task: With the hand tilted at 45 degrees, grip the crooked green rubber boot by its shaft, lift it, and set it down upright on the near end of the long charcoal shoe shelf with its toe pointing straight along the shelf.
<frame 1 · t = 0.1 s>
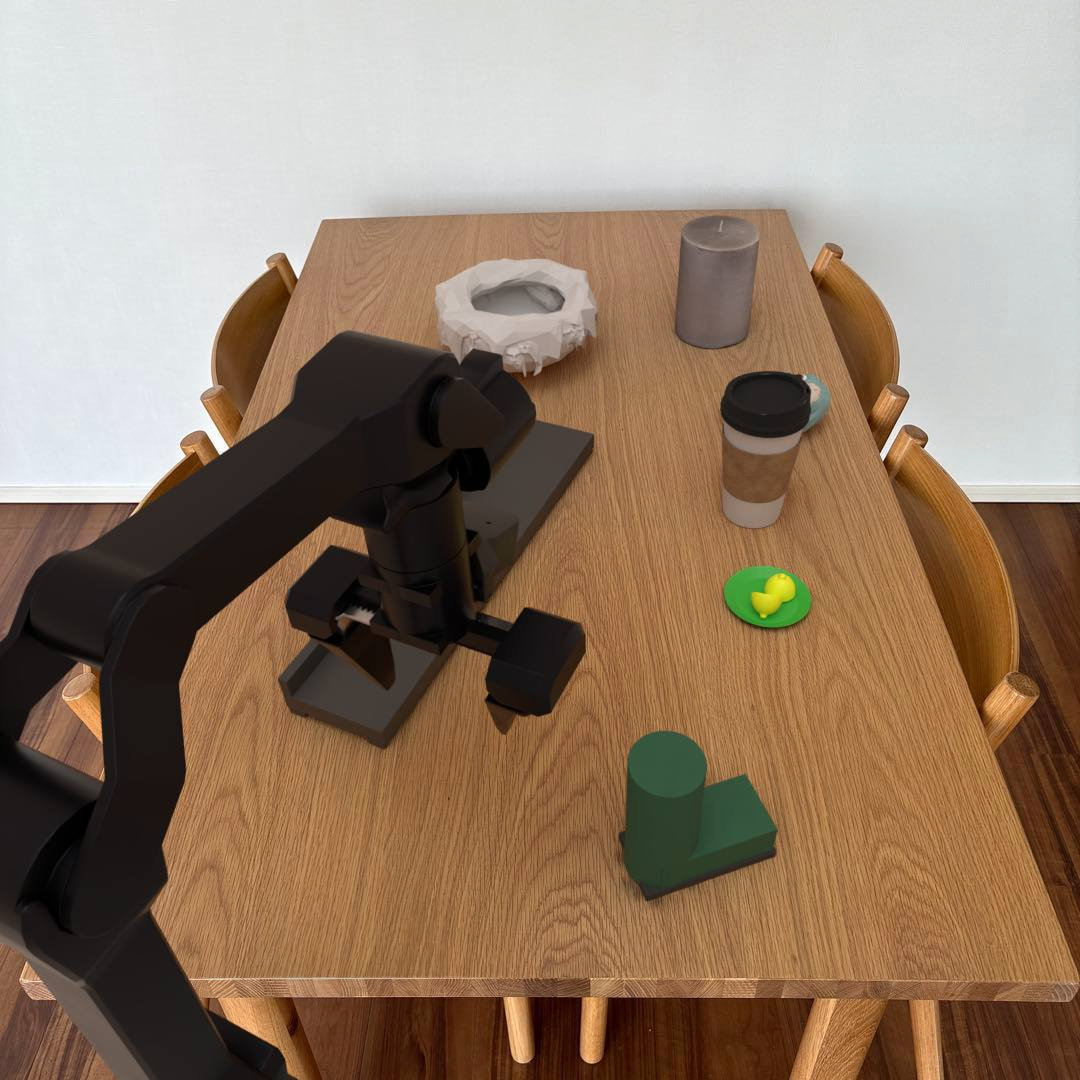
hand: (446, 706, 65), 14 cm above the table, tool pointing down, fingers open, 9 cm apart
stuffed animal: (773, 423, 111), on the table
green flat round tray: (766, 601, 90), on the table
bowl: (519, 357, 124), on the table
pillar candle: (711, 331, 126), on the table
coffee cup: (751, 511, 100), on the table
shoe shelf: (461, 564, 96), on the table
boot: (659, 859, 71), on the table
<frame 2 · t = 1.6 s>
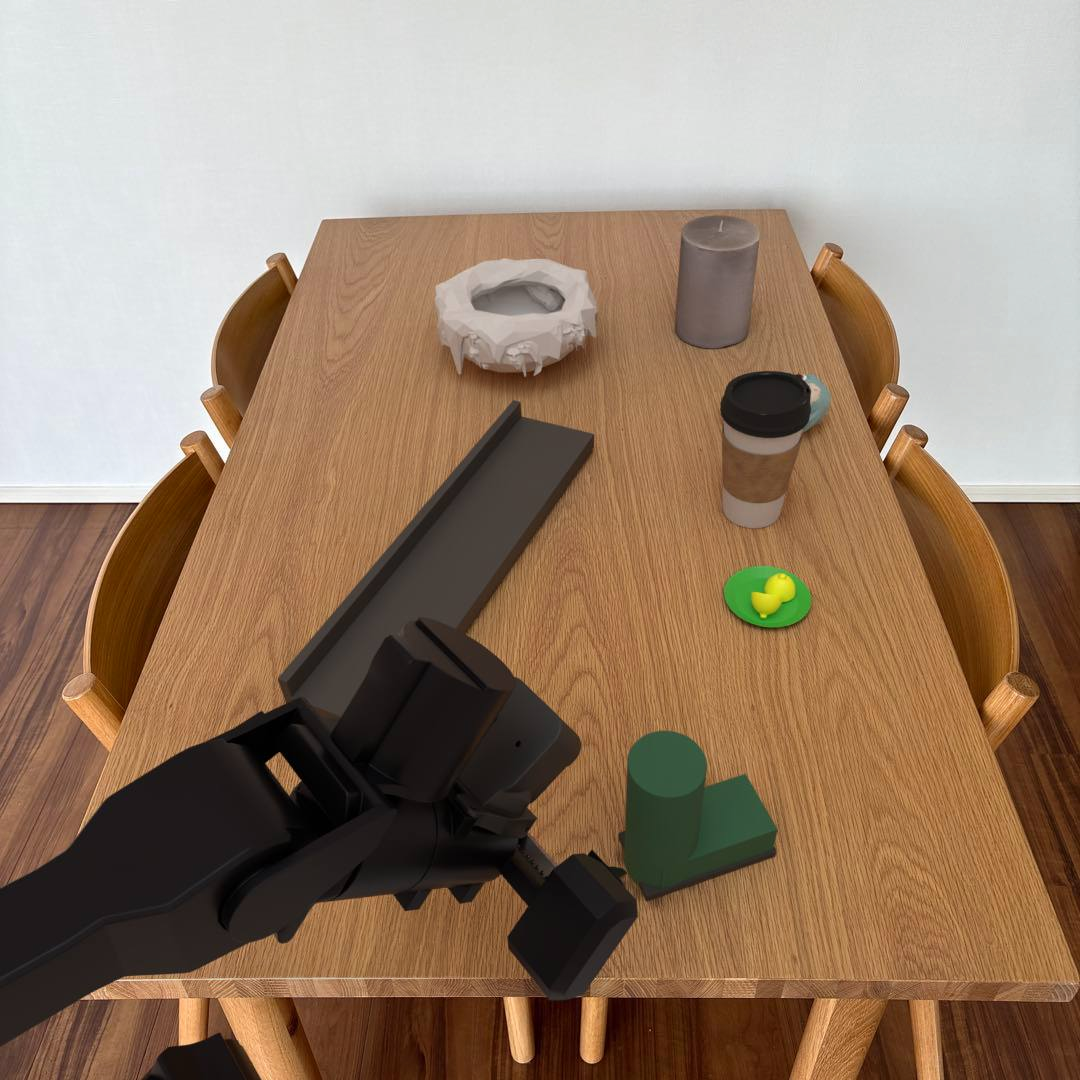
hand: (570, 823, 59), 13 cm above the table, tool tilted 45°, fingers open, 9 cm apart
nothing on the table moved.
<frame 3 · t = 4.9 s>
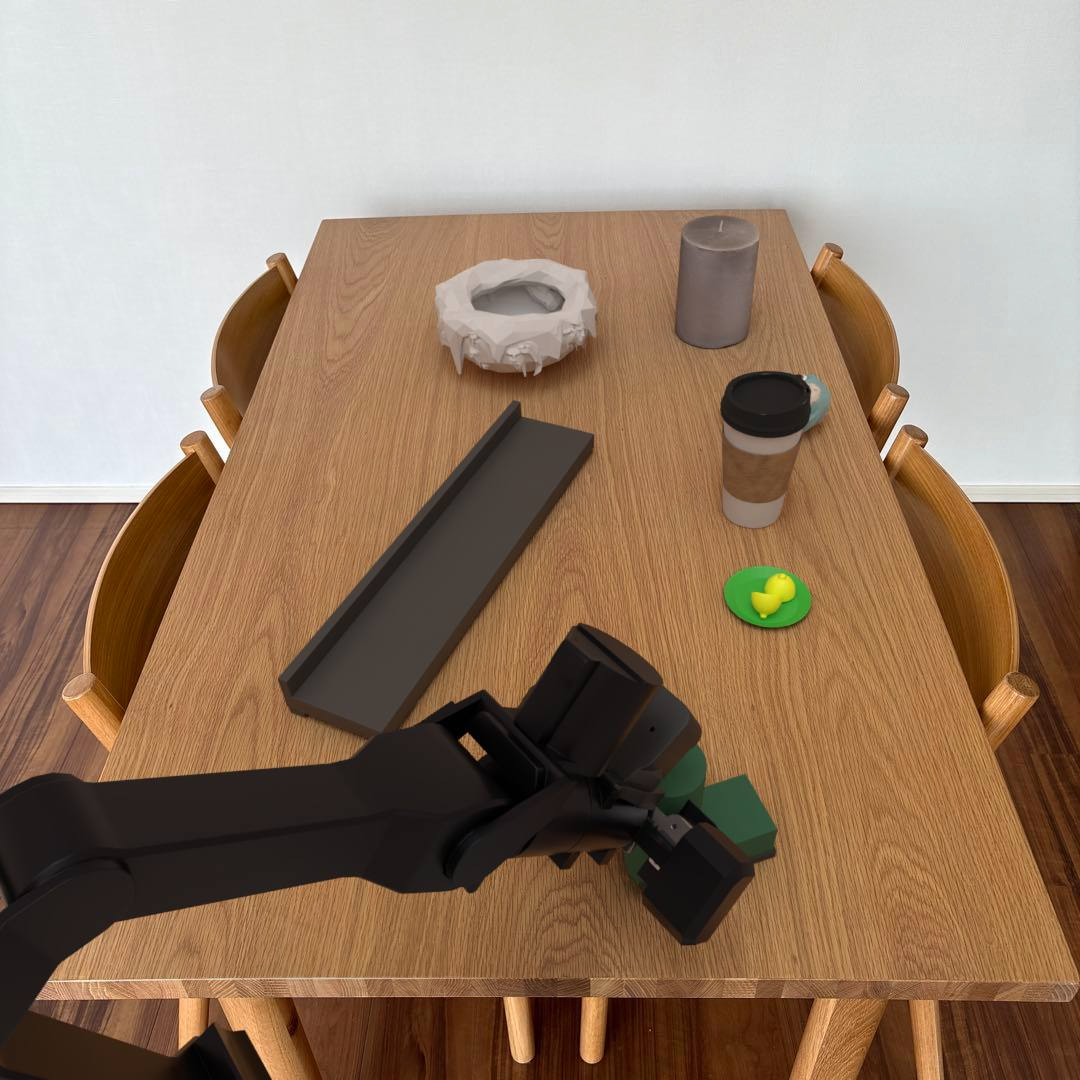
hand: (677, 800, 67), 7 cm above the table, tool tilted 45°, fingers closed on boot, 5 cm apart
boot: (659, 859, 71), on the table, touching gripper
everything else where it was.
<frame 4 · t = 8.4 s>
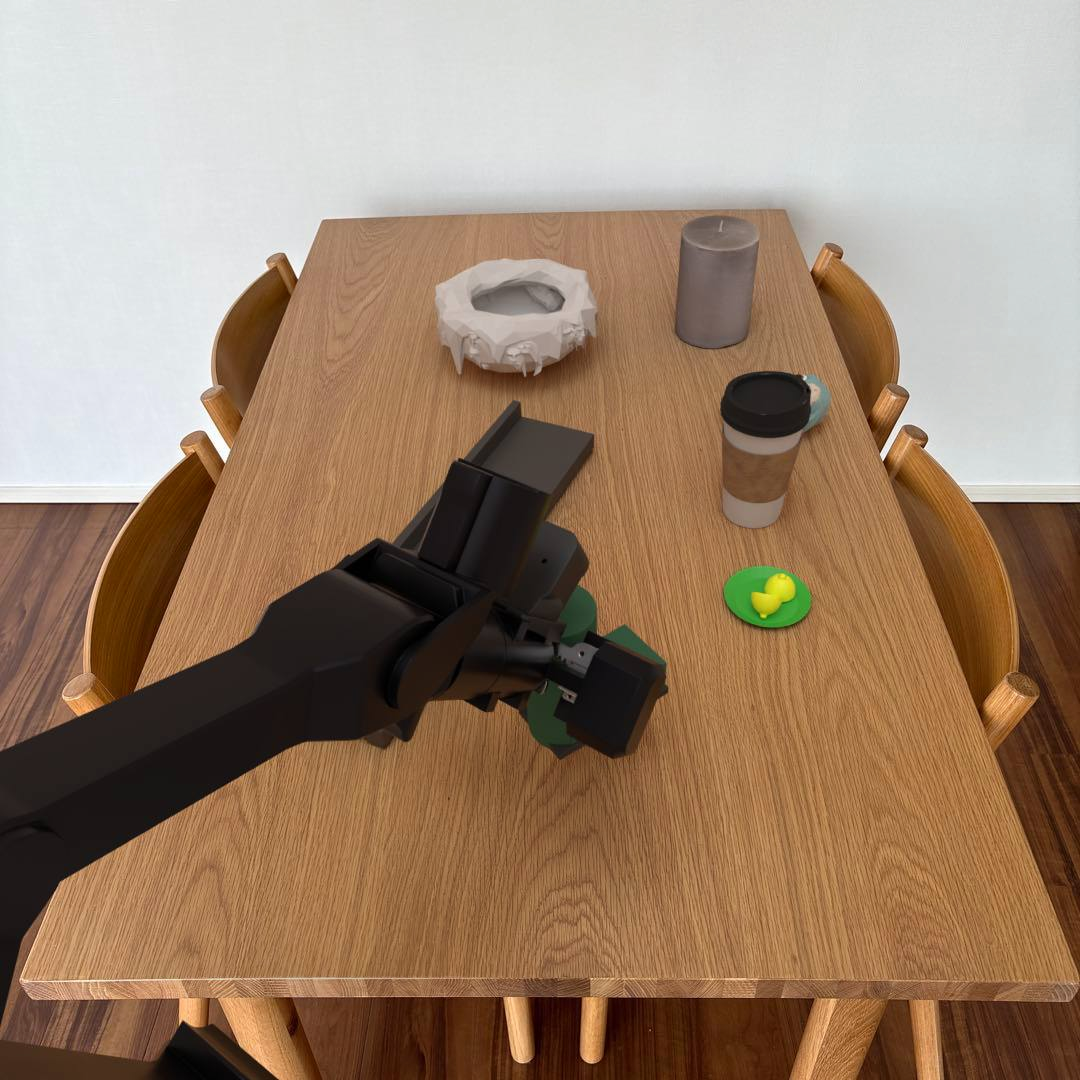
hand: (570, 653, 69), 13 cm above the table, tool tilted 45°, fingers closed on boot, 5 cm apart
boot: (562, 722, 72), point 7 cm above the table, touching gripper
everything else where it was.
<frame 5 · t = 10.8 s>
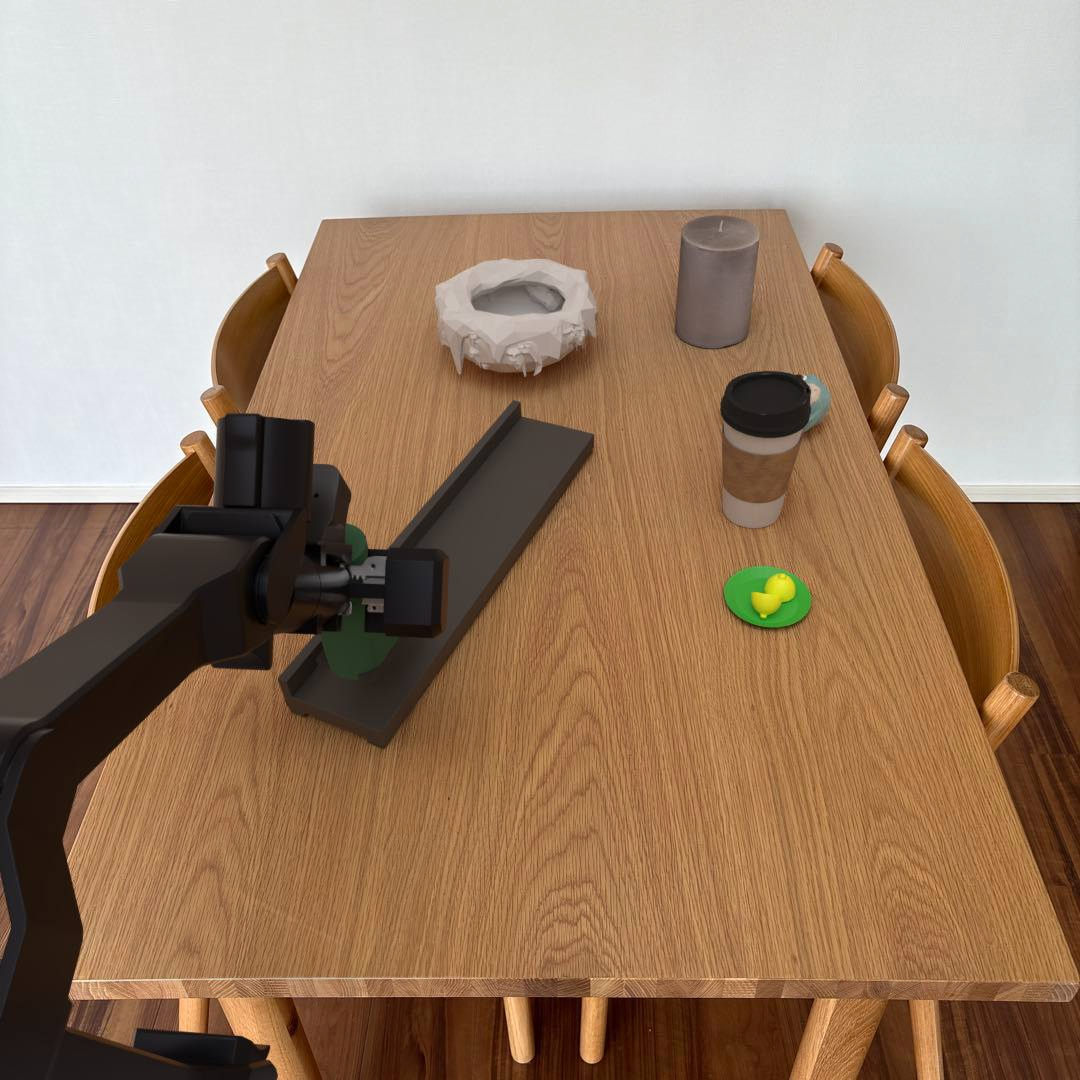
hand: (350, 588, 76), 13 cm above the table, tool tilted 45°, fingers closed on boot, 5 cm apart
boot: (359, 656, 79), point 6 cm above the table, touching gripper
everything else where it was.
when the fingers open (9 cm above the table, at t = 12.3 s): boot stays where it is, resting on shoe shelf.
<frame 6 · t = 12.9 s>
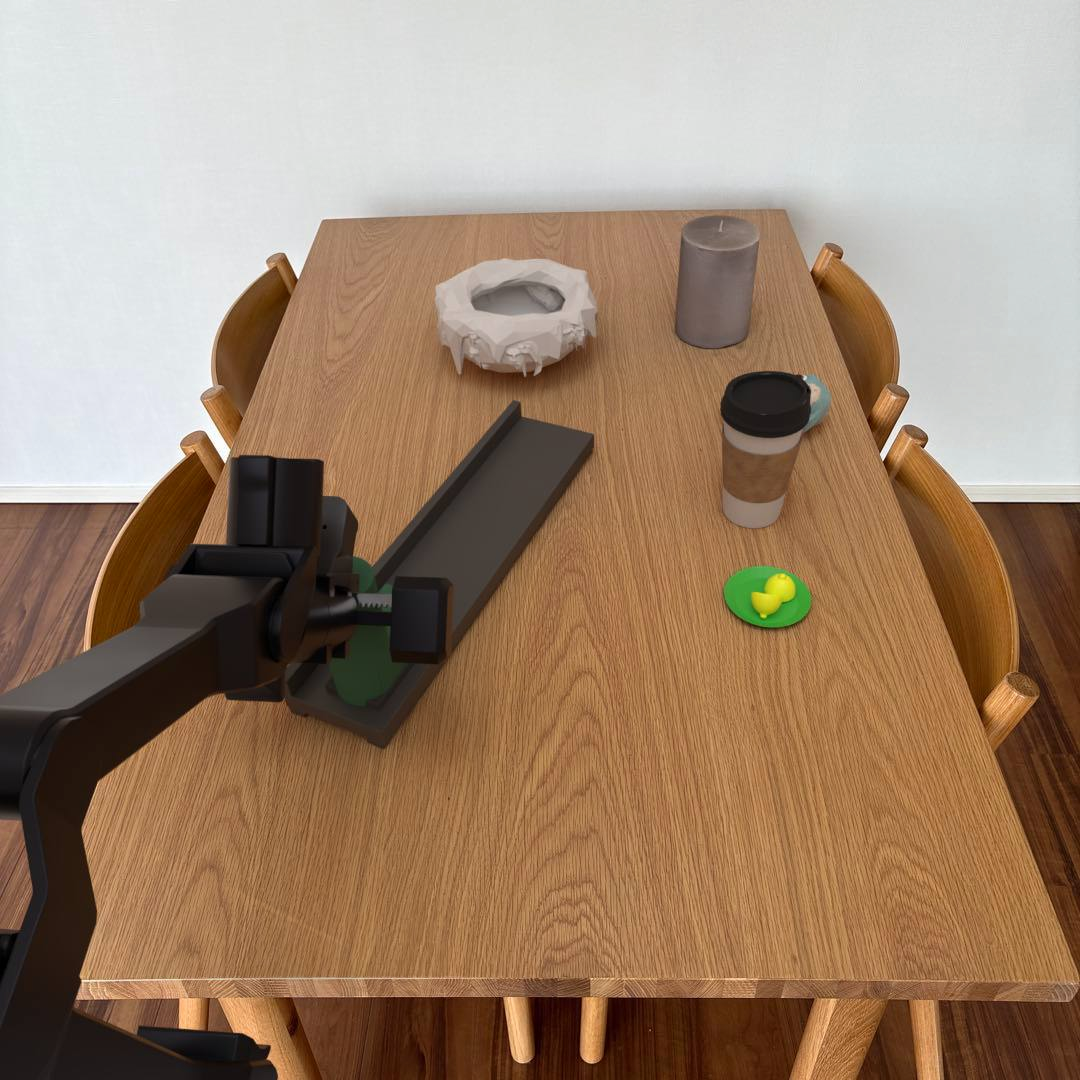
hand: (356, 611, 78), 10 cm above the table, tool tilted 45°, fingers open, 9 cm apart
boot: (367, 682, 82), point 2 cm above the table, touching shoe shelf
everything else where it was.
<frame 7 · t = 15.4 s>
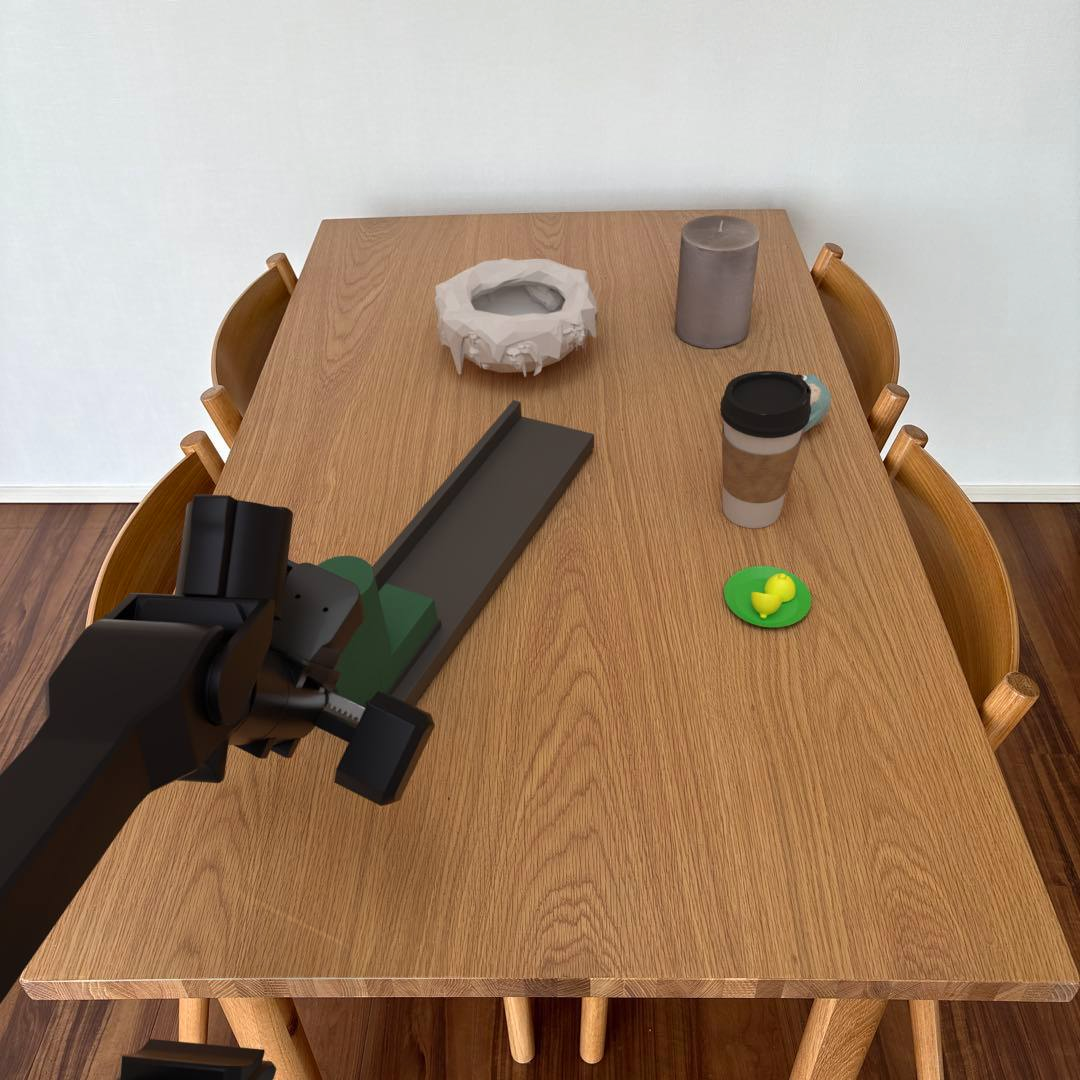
hand: (327, 706, 69), 11 cm above the table, tool tilted 35°, fingers open, 9 cm apart
nothing on the table moved.
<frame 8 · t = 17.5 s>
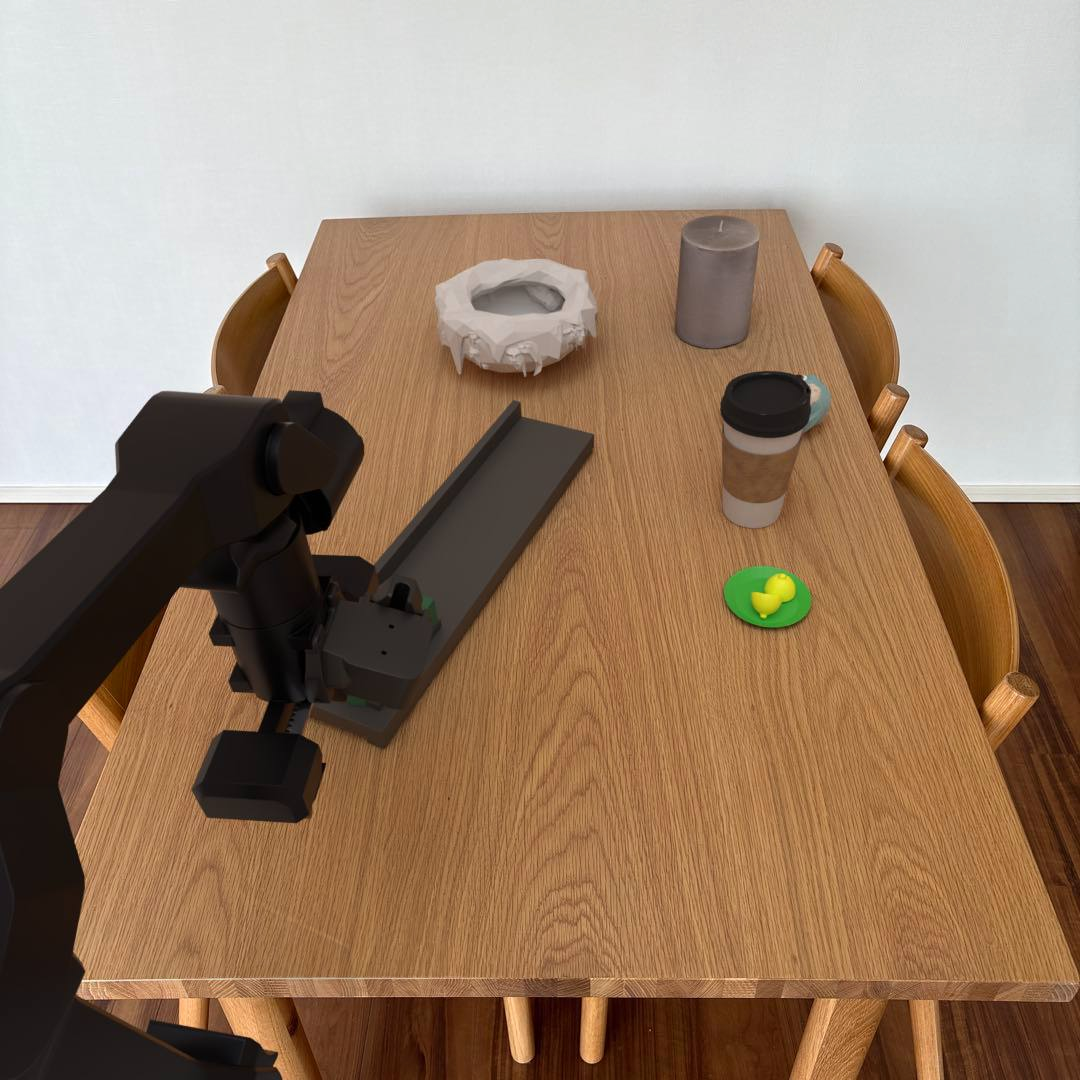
hand: (323, 755, 64), 13 cm above the table, tool pointing down, fingers open, 9 cm apart
nothing on the table moved.
at the end: boot inside the target area on the shoe shelf (2.2 cm from its centre), point 2.5 cm above the shoe shelf's base; boot tilted 0°; the gripper is holding nothing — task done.
